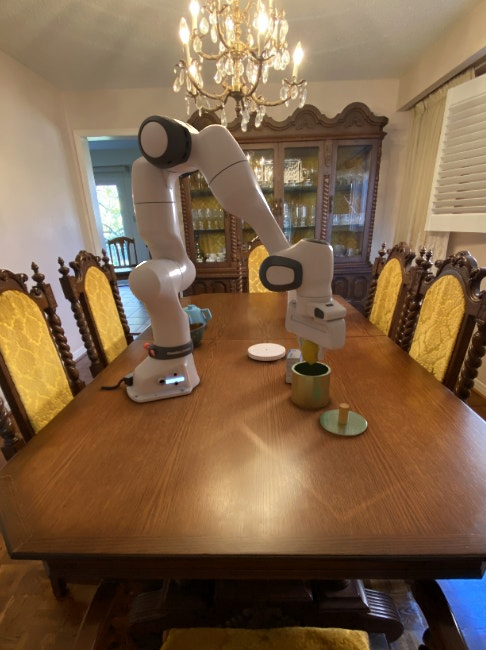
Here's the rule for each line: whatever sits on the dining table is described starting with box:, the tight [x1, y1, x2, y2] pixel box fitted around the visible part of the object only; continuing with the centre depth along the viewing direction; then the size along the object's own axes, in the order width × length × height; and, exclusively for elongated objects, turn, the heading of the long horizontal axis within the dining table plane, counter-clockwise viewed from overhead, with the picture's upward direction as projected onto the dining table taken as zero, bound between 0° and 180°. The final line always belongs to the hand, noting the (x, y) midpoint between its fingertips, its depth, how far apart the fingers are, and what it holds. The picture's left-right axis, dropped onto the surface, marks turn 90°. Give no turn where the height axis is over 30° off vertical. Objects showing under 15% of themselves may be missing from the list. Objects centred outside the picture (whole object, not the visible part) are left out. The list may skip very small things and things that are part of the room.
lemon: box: [301, 339, 320, 365], centre depth 93 cm, size 6×6×8 cm
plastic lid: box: [247, 342, 286, 362], centre depth 130 cm, size 14×14×2 cm
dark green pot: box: [151, 323, 205, 349], centre depth 139 cm, size 13×20×10 cm, turn 99°
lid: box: [319, 402, 368, 438], centre depth 85 cm, size 11×11×6 cm
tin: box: [290, 360, 332, 410], centre depth 96 cm, size 10×10×10 cm
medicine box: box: [285, 348, 303, 384], centre depth 110 cm, size 8×4×9 cm, turn 168°
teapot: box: [182, 304, 213, 327], centre depth 164 cm, size 15×15×11 cm
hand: (311, 355), depth 93 cm, fingers closed on lemon, 5 cm apart
